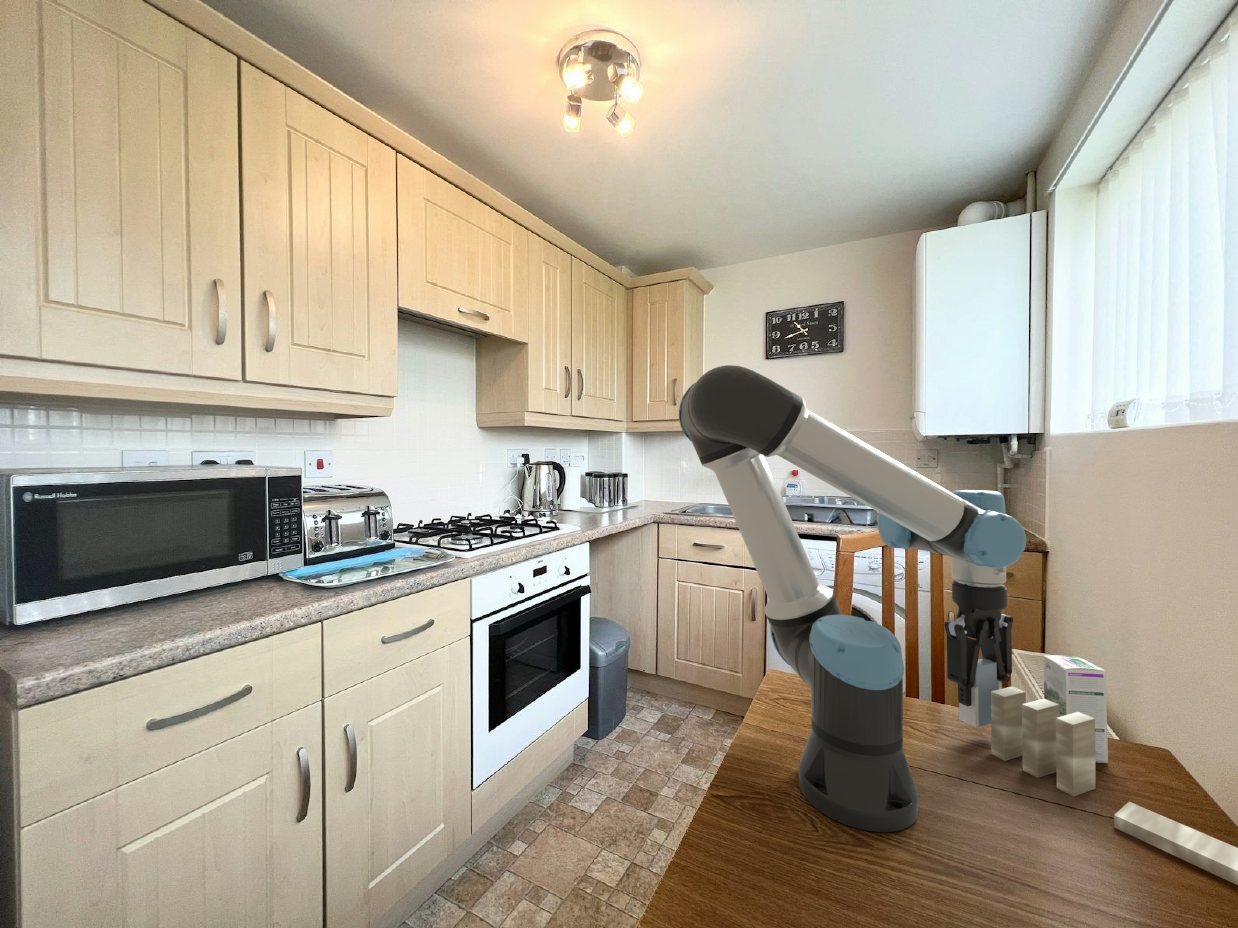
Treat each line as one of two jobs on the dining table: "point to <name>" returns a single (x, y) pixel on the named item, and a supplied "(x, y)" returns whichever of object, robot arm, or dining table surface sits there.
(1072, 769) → the domino
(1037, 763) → the domino
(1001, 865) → the dining table surface
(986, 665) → the domino
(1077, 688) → the syrup box
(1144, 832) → the domino
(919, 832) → the dining table surface
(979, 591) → the robot arm
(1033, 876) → the dining table surface
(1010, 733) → the domino
